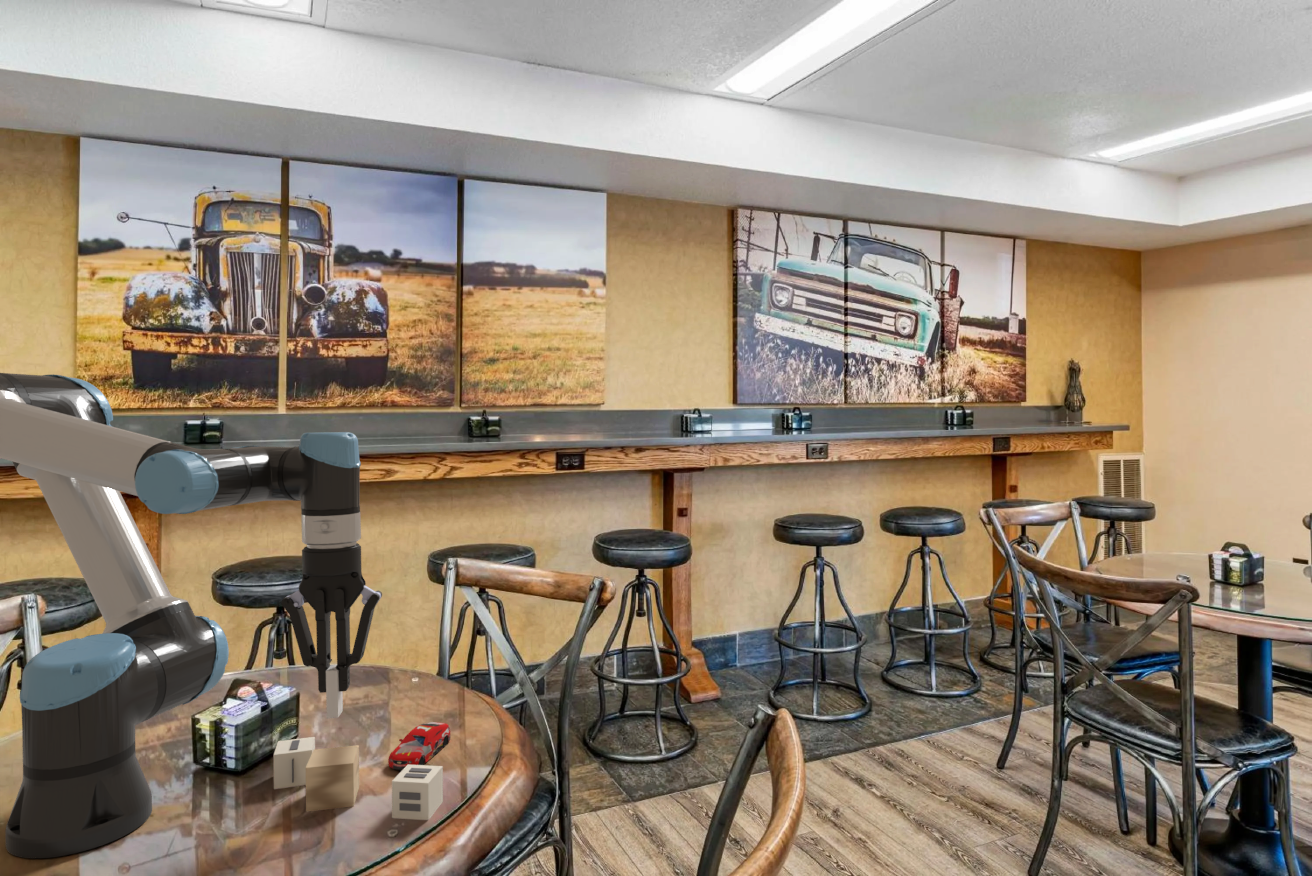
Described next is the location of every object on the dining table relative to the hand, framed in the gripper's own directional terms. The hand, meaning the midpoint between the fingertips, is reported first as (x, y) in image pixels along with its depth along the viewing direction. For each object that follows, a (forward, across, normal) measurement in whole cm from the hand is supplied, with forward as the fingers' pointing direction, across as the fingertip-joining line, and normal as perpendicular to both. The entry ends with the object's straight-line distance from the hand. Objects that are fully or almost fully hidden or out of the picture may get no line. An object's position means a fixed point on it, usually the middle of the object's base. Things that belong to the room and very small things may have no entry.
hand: (334, 714), depth 107 cm
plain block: (+12, 0, 0) cm, 12 cm away
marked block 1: (+12, -7, +7) cm, 16 cm away
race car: (+12, +10, +13) cm, 20 cm away
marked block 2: (+12, +12, -5) cm, 17 cm away
